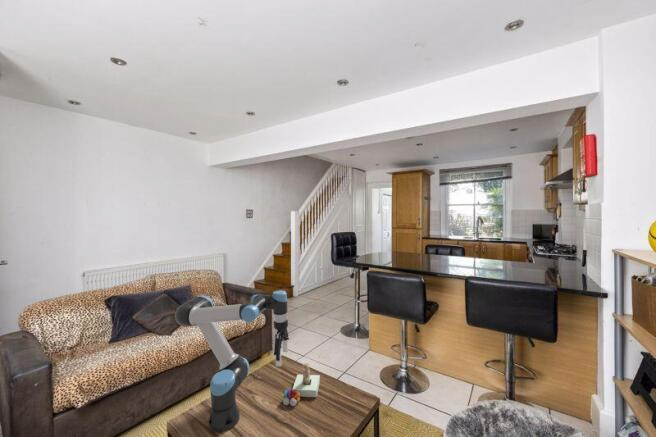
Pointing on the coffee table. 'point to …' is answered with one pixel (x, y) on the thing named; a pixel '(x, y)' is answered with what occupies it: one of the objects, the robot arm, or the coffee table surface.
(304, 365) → the peg
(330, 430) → the coffee table surface
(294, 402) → the rainbow wheeled toy
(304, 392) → the socket block
